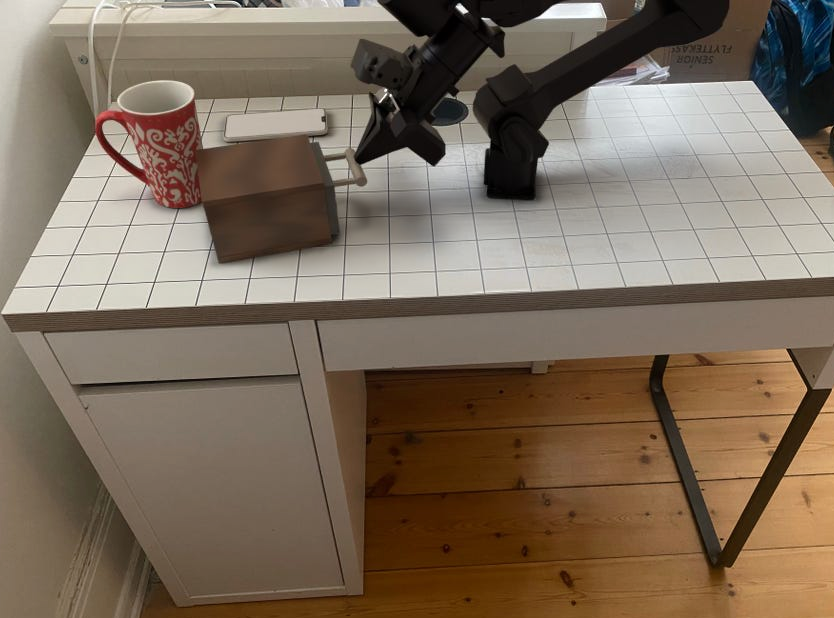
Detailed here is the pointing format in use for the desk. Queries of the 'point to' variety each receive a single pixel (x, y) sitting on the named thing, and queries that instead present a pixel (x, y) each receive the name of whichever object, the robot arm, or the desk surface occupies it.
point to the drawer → (330, 185)
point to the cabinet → (263, 197)
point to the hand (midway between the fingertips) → (356, 161)
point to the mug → (160, 139)
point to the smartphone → (275, 124)
